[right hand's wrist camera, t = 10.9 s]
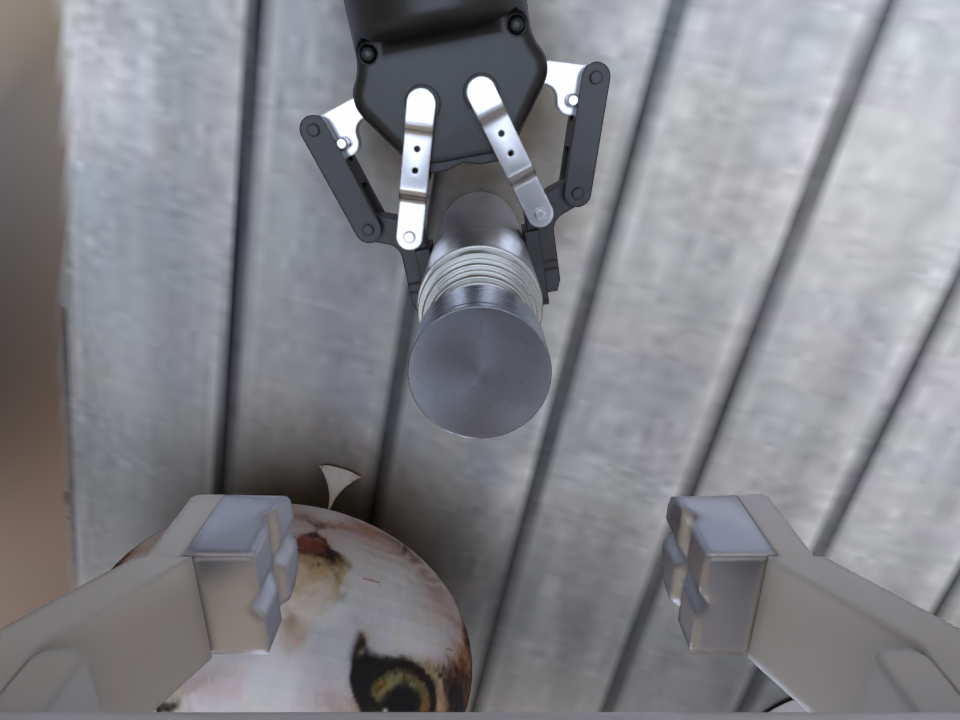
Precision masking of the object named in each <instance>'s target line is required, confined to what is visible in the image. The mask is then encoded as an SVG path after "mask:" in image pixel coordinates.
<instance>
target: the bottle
mask: <svg viewBox="0 0 960 720" xmlns="http://www.w3.org/2000/svg"><path fill="white" fill-rule="evenodd" d="M470 285H489V286H495V287H499V288H502V289H505V290H507V291H509V292H511V293H513V294H515V295H516V296H518V297H519V298H521V299H522V300H523V301H524V302H525V303H527V305H528V306H529V307H530V308H531V309H532V310H533V312H534V313H535V315H536V316H537V318H538V320H539V322H540V325H541V319H542V312H543V298H542V292H541V289H540V286H539V283H538V280H537V277H536V274H535V271H534V268H533V265H532V262H531V259H530V256H529V253H528V250H527V247H526V244H525V241H524V238H523V235H522V233H521V230H520V227H519V224H518V221H517V218H516V215H515V213H514V211H513V209H512V208H511V206H510V205H509V204H508V203H507V202H506V201H505V200H504V199H502V198H501V197H499V196H497V195H495V194H493V193H490V192H484V191H477V192H471V193H467V194H465V195H463V196H461V197H459V198H458V199H456V200H455V201H454V202H453V203H452V204H451V205H450V206H449V208H448V209H447V211H446V213H445V215H444V218H443V221H442V223H441V226H440V229H439V232H438V235H437V238H436V241H435V244H434V247H433V250H432V253H431V255H430V258H429V261H428V264H427V267H426V270H425V273H424V276H423V279H422V282H421V285H420V288H419V291H418V296H417V315H418V322H419V324H420V321H421V319H422V317H423V316H424V314H425V313H426V311H427V310H428V309H429V307H430V306H431V305H432V304H433V303H434V302H435V301H436V300H438V299H439V298H440V297H442V296H443V295H445V294H446V293H448V292H450V291H452V290H455V289H458V288H461V287H465V286H470Z"/></svg>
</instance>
